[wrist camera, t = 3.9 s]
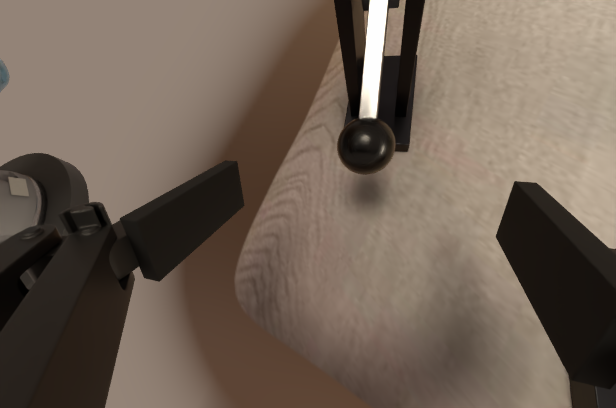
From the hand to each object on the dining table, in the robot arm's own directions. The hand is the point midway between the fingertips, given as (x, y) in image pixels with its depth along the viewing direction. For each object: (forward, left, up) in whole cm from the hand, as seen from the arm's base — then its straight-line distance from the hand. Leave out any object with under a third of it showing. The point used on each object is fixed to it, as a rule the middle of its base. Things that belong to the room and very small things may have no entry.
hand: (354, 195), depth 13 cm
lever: (+3, +9, -2) cm, 10 cm away
